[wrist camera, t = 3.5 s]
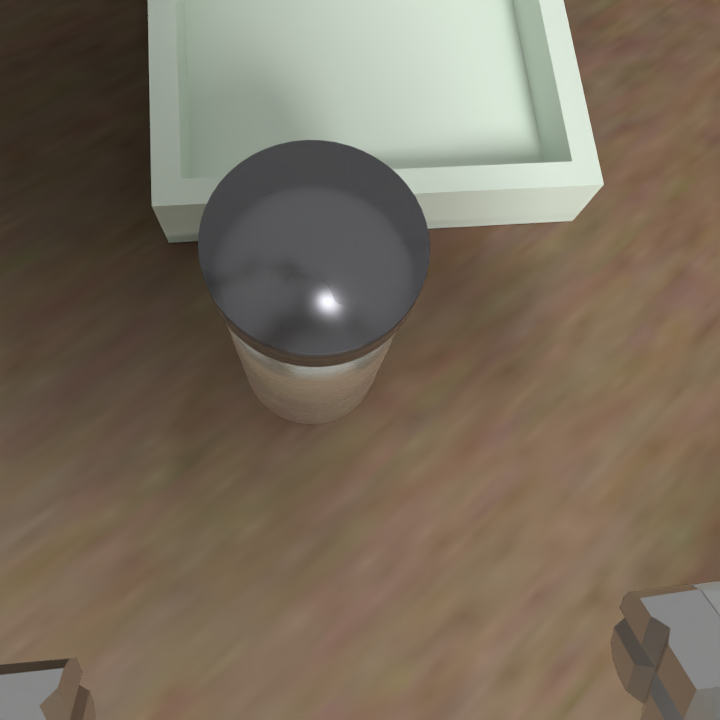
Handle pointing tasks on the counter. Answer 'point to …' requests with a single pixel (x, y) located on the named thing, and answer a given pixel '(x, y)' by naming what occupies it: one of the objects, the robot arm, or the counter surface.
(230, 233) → the shaker
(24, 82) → the counter surface
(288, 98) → the tray
